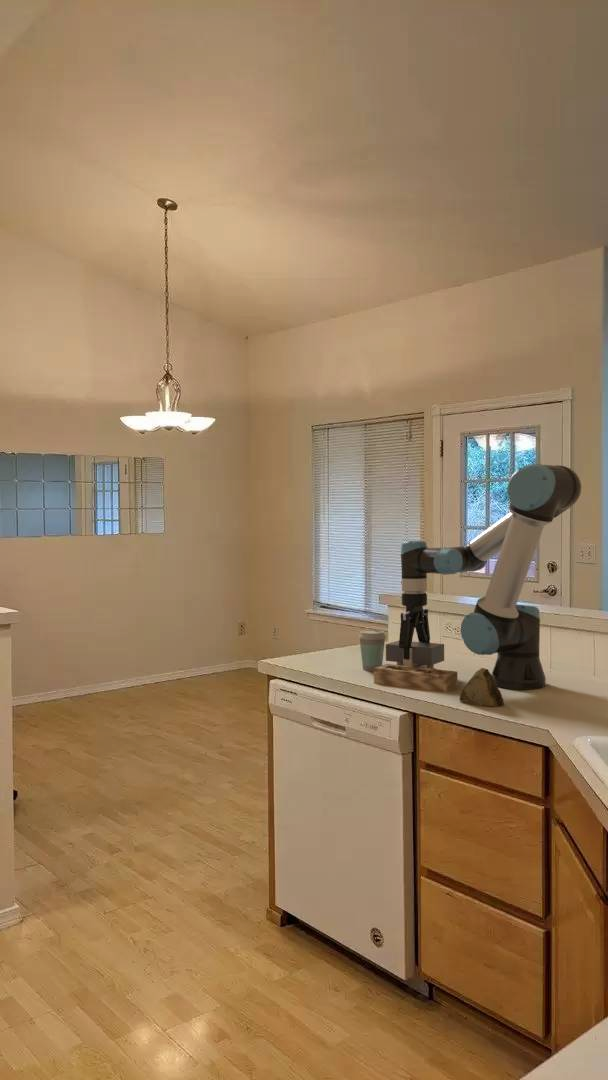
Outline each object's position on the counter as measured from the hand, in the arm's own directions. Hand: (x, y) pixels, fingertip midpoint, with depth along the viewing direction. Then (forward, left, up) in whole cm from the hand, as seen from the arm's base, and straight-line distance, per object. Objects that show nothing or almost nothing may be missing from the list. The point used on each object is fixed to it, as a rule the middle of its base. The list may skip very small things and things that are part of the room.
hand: (415, 667), depth 256 cm
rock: (-30, +22, -3) cm, 37 cm away
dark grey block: (0, 0, -2) cm, 2 cm away
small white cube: (0, 0, -3) cm, 3 cm away
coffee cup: (+16, -3, -3) cm, 17 cm away
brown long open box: (-5, +11, -3) cm, 12 cm away
